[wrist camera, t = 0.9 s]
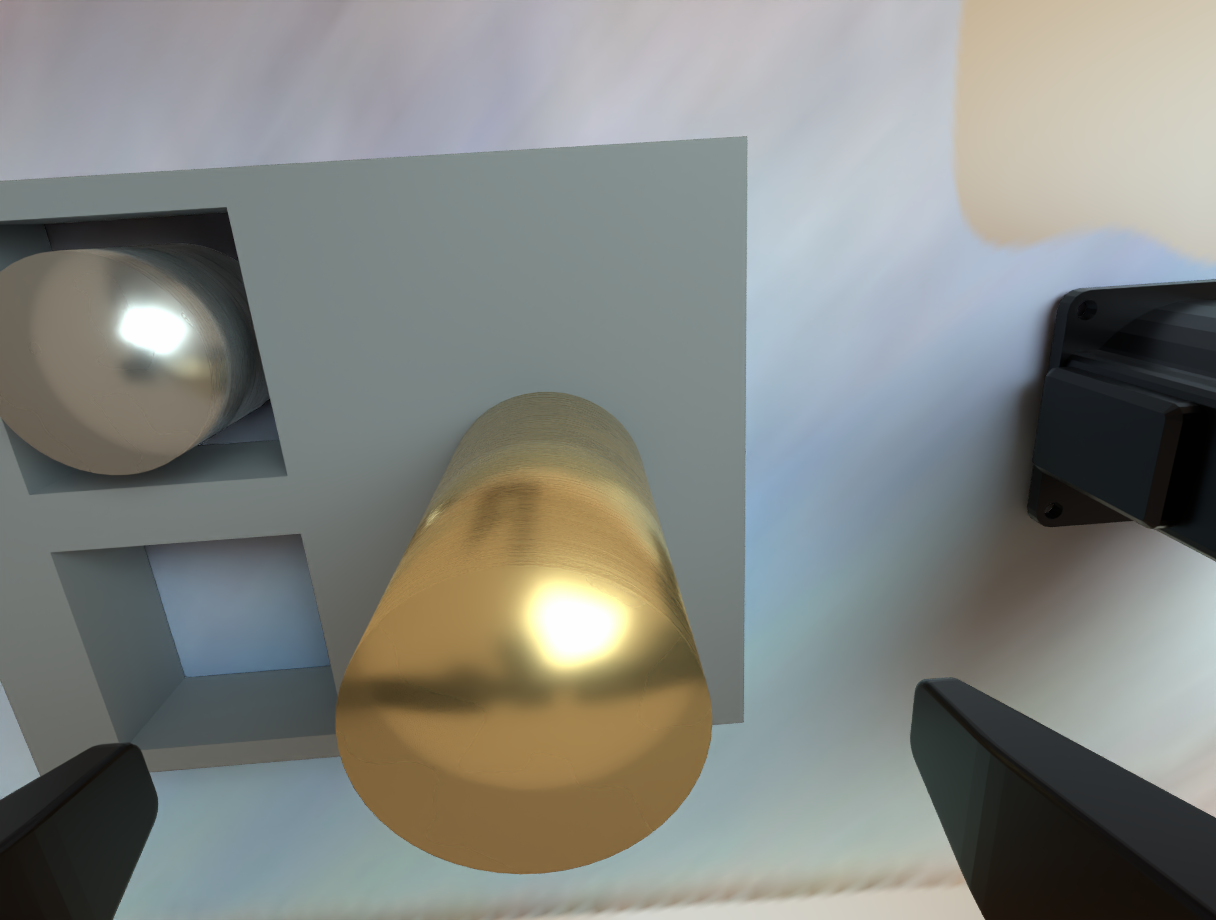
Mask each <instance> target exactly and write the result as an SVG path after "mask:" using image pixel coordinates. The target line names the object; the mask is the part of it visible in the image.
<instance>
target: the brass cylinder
mask: <svg viewBox="0 0 1216 920" xmlns="http://www.w3.org/2000/svg"><path fill="white" fill-rule="evenodd" d="M335 731H336V737H337V744H338V750H339V753H340V756H341V760H342V763H343V766H344V769H345V771H346V773H347V775H348V777H349V779H350V781H351V783H352V785H353V787H354V789H355V790H356V792H357V793H358V795H359V796H360V797H361V799H362V800H363V802H364V803H365V805H366V806H367V807H368V808H369V809H370V810H371V811H372V812H373V813H374V814H375V816H376V817H377V818H378V819H379V820H380V821H381V822H383V823H384V824H385V825H386V826H387V827H388V828H390V829H391V830H392V831H393V832H394V833H395V834H397V835H398V836H400V837H401V838H403V839H404V840H406V841H408V842H409V843H411V844H412V845H414V846H415V847H417V848H419V849H421V850H423V851H425V852H427V853H429V854H431V855H433V856H436V857H438V858H441V859H444V860H446V861H449V862H452V863H454V864H458V865H462V866H466V867H469V868H473V869H477V870H484V871H490V872H496V873H510V874H537V873H549V872H556V871H563V870H569V869H573V868H577V867H581V866H585V865H589V864H592V863H594V862H597V861H600V860H603V859H606V858H609V857H611V856H613V855H615V854H617V853H619V852H621V851H623V850H625V849H628V848H629V847H631V846H632V845H634V844H636V843H637V842H639V841H641V840H642V839H644V838H645V837H647V836H648V835H649V834H651V833H652V832H653V831H655V830H656V829H657V828H658V827H660V826H661V825H662V824H663V823H664V822H665V821H666V820H667V819H668V818H669V817H670V816H671V815H672V814H673V813H674V812H675V811H676V810H677V809H678V808H679V806H680V805H681V804H682V803H683V801H684V800H685V799H686V797H687V796H688V795H689V793H690V792H691V790H692V788H693V786H694V785H695V783H696V781H697V779H698V778H699V776H700V773H701V771H702V768H703V766H704V763H705V761H706V758H707V754H708V749H709V745H710V741H711V731H712V709H711V699H710V695H709V691H708V687H707V683H706V679H705V676H704V672H703V669H702V665H701V662H700V658H699V655H698V652H697V648H696V645H695V641H694V638H693V634H692V631H691V628H690V624H689V621H688V617H687V614H686V610H685V607H684V604H683V600H682V597H681V593H680V590H679V586H678V583H677V580H676V576H675V573H674V569H673V566H672V562H671V559H670V555H669V552H668V549H667V545H666V542H665V538H664V535H663V531H662V528H661V525H660V521H659V518H658V514H657V511H656V507H655V504H654V501H653V497H652V494H651V490H650V487H649V483H648V480H647V477H646V473H645V470H644V466H643V463H642V459H641V456H640V454H639V451H638V449H637V446H636V444H635V442H634V441H633V439H632V437H631V436H630V434H629V433H628V431H627V430H626V429H625V428H624V426H623V425H622V424H621V423H620V422H619V421H618V420H617V419H616V418H615V417H614V416H613V415H611V414H610V413H609V412H607V411H606V410H605V409H603V408H602V407H600V406H598V405H596V404H595V403H593V402H591V401H588V400H586V399H583V398H581V397H578V396H574V395H570V394H566V393H559V392H534V393H527V394H523V395H519V396H515V397H512V398H510V399H507V400H505V401H503V402H500V403H499V404H497V405H495V406H494V407H492V408H490V409H489V410H487V411H486V412H485V413H484V414H482V415H481V416H480V417H479V418H478V419H477V420H476V421H475V422H474V423H473V424H472V425H471V426H470V427H469V429H468V430H467V431H466V433H465V434H464V435H463V437H462V439H461V441H460V443H459V445H458V447H457V449H456V451H455V453H454V455H453V457H452V459H451V461H450V463H449V465H448V467H447V469H446V471H445V473H444V475H443V477H442V479H441V481H440V483H439V485H438V487H437V489H436V491H435V493H434V495H433V497H432V499H431V501H430V503H429V505H428V506H427V508H426V510H425V512H424V514H423V516H422V518H421V520H420V522H419V524H418V526H417V528H416V530H415V532H414V534H413V536H412V538H411V540H410V542H409V544H408V546H407V548H406V550H405V552H404V554H403V556H402V558H401V560H400V562H399V564H398V566H397V568H396V570H395V572H394V574H393V576H392V578H391V580H390V582H389V584H388V586H387V588H386V590H385V592H384V594H383V596H382V598H381V600H380V602H379V604H378V606H377V608H376V610H375V612H374V614H373V616H372V618H371V620H370V622H369V624H368V626H367V628H366V630H365V632H364V634H363V636H362V638H361V640H360V642H359V644H358V646H357V648H356V650H355V652H354V654H353V656H352V658H351V660H350V662H349V664H348V666H347V668H346V671H345V674H344V677H343V680H342V682H341V685H340V688H339V693H338V699H337V704H336V718H335Z"/></svg>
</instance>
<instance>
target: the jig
mask: <svg viewBox="0 0 1216 920" xmlns="http://www.w3.org/2000/svg"><path fill="white" fill-rule="evenodd" d="M216 213H228V215H229V219H230V224H231V228H232V233H233V237H234V241H235V246H236V250H237V255H238V259H239V263H240V268H241V272H242V277H243V281H244V285H245V290H246V294H247V299H248V303H249V308H250V312H251V316H252V321H253V325H254V330H255V334H256V338H257V343H258V347H259V352H260V356H261V360H262V365H263V369H264V374H265V378H266V382H267V387H268V391H269V396H270V400H271V404H272V409H273V413H274V418H275V422H276V426H277V431H278V435H279V440H271V441H257V442H243V443H229V444H215V445H201V446H195V447H193V448H191V449H190V450H188V451H187V452H185V453H183V454H182V455H180V456H178V457H177V458H175V459H173V460H172V461H170V462H168V463H167V464H165V465H163V466H160V467H158V468H155V469H153V470H149V471H146V472H142V473H136V474H129V475H106V474H97V473H92V472H87V471H83V470H79V469H76V468H73V467H70V466H67V465H65V464H63V463H61V462H58V461H56V460H54V459H52V458H50V457H48V456H47V455H45V454H43V453H41V452H40V451H38V450H37V449H35V448H34V447H32V446H31V445H30V444H28V443H27V442H25V441H24V440H23V439H22V438H21V437H20V436H18V435H17V434H16V433H15V432H14V431H13V430H12V429H11V428H10V427H9V426H8V425H7V424H6V423H5V422H4V420H3V419H2V418H1V417H0V681H1V683H2V685H3V688H4V690H5V693H6V695H7V697H8V700H9V702H10V705H11V707H12V709H13V712H14V714H15V717H16V719H17V721H18V724H19V726H20V729H21V731H22V733H23V736H24V738H25V741H26V743H27V745H28V748H29V750H30V753H31V755H32V757H33V760H34V762H35V765H36V767H37V769H38V772H39V774H40V776H42V775H44V774H45V773H47V772H49V771H51V770H52V769H54V768H56V767H57V766H59V765H61V764H63V763H64V762H66V761H68V760H69V759H71V758H73V757H75V756H76V755H78V754H80V753H81V752H83V751H85V750H87V749H88V748H90V747H92V746H96V745H100V744H109V743H122V742H130V743H134V744H136V745H137V746H138V747H139V748H140V749H141V751H142V753H143V756H144V759H145V762H146V765H147V767H148V770H149V772H159V771H171V770H183V769H195V768H207V767H219V766H230V765H242V764H254V763H266V762H278V761H290V760H302V759H314V758H326V757H338V756H340V753H339V750H338V744H337V737H336V731H335V718H336V704H337V699H338V693H339V688H340V685H341V682H342V680H343V677H344V674H345V671H346V668H347V666H348V664H349V662H350V660H351V658H352V656H353V654H354V652H355V650H356V648H357V646H358V644H359V642H360V640H361V638H362V636H363V634H364V632H365V630H366V628H367V626H368V624H369V622H370V620H371V618H372V616H373V614H374V612H375V610H376V608H377V606H378V604H379V602H380V600H381V598H382V596H383V594H384V592H385V590H386V588H387V586H388V584H389V582H390V580H391V578H392V576H393V574H394V572H395V570H396V568H397V566H398V564H399V562H400V560H401V558H402V556H403V554H404V552H405V550H406V548H407V546H408V544H409V542H410V540H411V538H412V536H413V534H414V532H415V530H416V528H417V526H418V524H419V522H420V520H421V518H422V516H423V514H424V512H425V510H426V508H427V506H428V505H429V503H430V501H431V499H432V497H433V495H434V493H435V491H436V489H437V487H438V485H439V483H440V481H441V479H442V477H443V475H444V473H445V471H446V469H447V467H448V465H449V463H450V461H451V459H452V457H453V455H454V453H455V451H456V449H457V447H458V445H459V443H460V441H461V439H462V437H463V435H464V434H465V433H466V431H467V430H468V429H469V427H470V426H471V425H472V424H473V423H474V422H475V421H476V420H477V419H478V418H479V417H480V416H481V415H482V414H484V413H485V412H486V411H487V410H489V409H490V408H492V407H494V406H495V405H497V404H499V403H500V402H503V401H505V400H507V399H510V398H512V397H515V396H519V395H523V394H527V393H534V392H559V393H566V394H570V395H574V396H578V397H581V398H583V399H586V400H588V401H591V402H593V403H595V404H596V405H598V406H600V407H602V408H603V409H605V410H606V411H607V412H609V413H610V414H611V415H613V416H614V417H615V418H616V419H617V420H618V421H619V422H620V423H621V424H622V425H623V426H624V428H625V429H626V430H627V431H628V433H629V434H630V436H631V437H632V439H633V441H634V442H635V444H636V446H637V449H638V451H639V454H640V456H641V459H642V463H643V466H644V470H645V473H646V477H647V480H648V483H649V487H650V490H651V494H652V497H653V501H654V504H655V507H656V511H657V514H658V518H659V521H660V525H661V528H662V531H663V535H664V538H665V542H666V545H667V549H668V552H669V555H670V559H671V562H672V566H673V569H674V573H675V576H676V580H677V583H678V586H679V590H680V593H681V597H682V600H683V604H684V607H685V610H686V614H687V617H688V621H689V624H690V628H691V631H692V634H693V638H694V641H695V645H696V648H697V652H698V655H699V658H700V662H701V665H702V669H703V672H704V676H705V679H706V683H707V687H708V691H709V695H710V699H711V709H712V725H718V724H730V723H742V722H744V572H745V418H746V263H747V136H743V137H727V138H710V139H693V140H677V141H660V142H643V143H627V144H610V145H593V146H577V147H560V148H543V149H527V150H510V151H493V152H477V153H460V154H443V155H427V156H410V157H393V158H377V159H360V160H343V161H327V162H310V163H293V164H277V165H260V166H243V167H227V168H210V169H194V170H177V171H160V172H144V173H127V174H110V175H94V176H77V177H60V178H44V179H27V180H10V181H0V272H1V271H2V270H3V269H5V268H6V267H8V266H9V265H11V264H12V263H14V262H16V261H19V260H21V259H23V258H25V257H28V256H32V255H35V254H39V253H44V252H51V251H52V249H51V246H50V243H49V240H48V237H47V233H46V230H45V227H44V224H55V223H71V222H87V221H103V220H119V219H136V218H152V217H168V216H184V215H200V214H216ZM290 534H301V537H302V541H303V545H304V550H305V554H306V559H307V563H308V567H309V572H310V576H311V581H312V585H313V589H314V594H315V598H316V603H317V607H318V612H319V616H320V620H321V625H322V629H323V634H324V638H325V642H326V647H327V651H328V656H329V660H330V664H331V666H324V667H311V668H299V669H286V670H274V671H261V672H249V673H237V674H224V675H212V676H199V677H187V678H185V676H184V673H183V670H182V667H181V663H180V660H179V657H178V654H177V651H176V647H175V644H174V641H173V638H172V635H171V631H170V628H169V625H168V622H167V619H166V615H165V612H164V609H163V606H162V602H161V599H160V596H159V593H158V590H157V586H156V583H155V580H154V577H153V574H152V570H151V567H150V564H149V561H148V558H147V554H146V551H145V548H144V545H157V544H170V543H183V542H197V541H210V540H223V539H237V538H250V537H263V536H277V535H290Z"/></svg>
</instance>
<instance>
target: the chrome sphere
mask: <svg viewBox="0 0 1216 920" xmlns="http://www.w3.org/2000/svg"><path fill="white" fill-rule="evenodd" d="M269 398H270V396H269V391H268V387H267V382H266V378H265V374H264V369H263V365H262V360H261V356H260V352H259V347H258V343H257V338H256V334H255V330H254V325H253V321H252V316H251V312H250V308H249V303H248V299H247V294H246V290H245V285H244V281H243V277H242V272H241V268H240V263H239V262H238V261H237V260H235V259H233V258H231V257H230V256H228V255H226V254H224V253H222V252H219V251H216V250H214V249H211V248H208V247H204V246H200V245H194V244H187V243H172V244H156V245H140V246H124V247H109V248H93V249H77V250H61V251H51V252H44V253H39V254H35V255H32V256H28V257H25V258H23V259H21V260H19V261H16V262H14V263H12V264H11V265H9V266H8V267H6V268H5V269H3V270H2V271H1V272H0V417H1V418H2V419H3V420H4V422H5V423H6V424H7V425H8V426H9V427H10V428H11V429H12V430H13V431H14V432H15V433H16V434H17V435H18V436H20V437H21V438H22V439H23V440H24V441H25V442H27V443H28V444H30V445H31V446H32V447H34V448H35V449H37V450H38V451H40V452H41V453H43V454H45V455H47V456H48V457H50V458H52V459H54V460H56V461H58V462H61V463H63V464H65V465H67V466H70V467H73V468H76V469H79V470H83V471H87V472H92V473H97V474H106V475H129V474H136V473H142V472H146V471H149V470H153V469H155V468H158V467H160V466H163V465H165V464H167V463H168V462H170V461H172V460H173V459H175V458H177V457H178V456H180V455H182V454H183V453H185V452H187V451H188V450H190V449H191V448H193V447H195V446H196V445H198V444H200V443H201V442H203V441H205V440H206V439H208V438H210V437H211V436H213V435H215V434H216V433H218V432H219V431H221V430H223V429H224V428H226V427H228V426H229V425H231V424H233V423H234V422H236V421H238V420H239V419H241V418H243V417H244V416H246V415H247V414H249V413H251V412H252V411H254V410H256V409H257V408H259V407H260V406H262V405H263V404H264V403H265V402H266V401H268V399H269Z"/></svg>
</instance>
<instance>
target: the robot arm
mask: <svg viewBox="0 0 1216 920" xmlns="http://www.w3.org/2000/svg"><path fill="white" fill-rule="evenodd" d="M1084 301H1085V302H1086V310H1085V312H1084V313H1083V314H1082V315H1081V316H1080V317H1078V313H1077V310H1078V308H1079V306H1080V305H1081V304H1082V303H1083V302H1084ZM1033 463H1034V466H1033V472H1032V479H1031V486H1030V492H1029V499H1028V505H1027V510H1028V514H1029V516H1030V517H1031V518H1032V519H1034V520H1035V521H1037V522H1038V523H1040V524H1042V525H1043V526H1046V527H1058V526H1071V525H1084V524H1097V523H1110V522H1123V521H1135V522H1137V523H1139V524H1141V525H1143V526H1145V527H1146V528H1151V529H1156V530H1157V531H1159V532H1161V533H1163V534H1165V535H1167V536H1169V537H1171V538H1172V539H1174V540H1176V541H1178V542H1180V543H1182V544H1184V545H1186V546H1188V547H1189V548H1191V549H1193V550H1195V551H1197V552H1199V553H1201V554H1203V555H1205V556H1206V557H1208V558H1210V559H1212V560H1214V561H1216V279H1212V280H1197V281H1183V282H1168V283H1153V284H1138V285H1123V286H1108V287H1093V288H1079V289H1076V290H1072V291H1071V292H1069V293H1068V294H1066V295H1065V296H1064V297H1063V299H1062V300H1061V301H1060V303H1059V306H1058V309H1057V315H1056V322H1055V329H1054V335H1053V342H1052V348H1051V355H1050V361H1049V368H1048V374H1047V376H1046V377H1045V382H1044V388H1043V395H1042V401H1041V408H1040V415H1039V421H1038V428H1037V434H1036V441H1035V448H1034V454H1033ZM1051 503H1053V504H1054V505H1053V507H1052V509H1051V510H1050V511H1048V512H1046V513H1045V510H1046V507H1047V506H1048V505H1049V504H1051ZM910 742H911V749H912V753H913V757H914V759H915V762H916V764H917V767H918V769H919V772H920V774H921V776H922V779H923V781H924V783H925V786H926V788H927V791H928V793H929V795H930V798H931V800H932V803H933V805H934V807H935V810H936V812H937V814H938V817H939V819H940V822H941V824H942V826H943V829H944V831H945V834H946V836H947V838H948V841H949V843H950V845H951V848H952V850H953V853H954V855H955V857H956V860H957V862H958V865H959V867H960V869H961V871H962V874H963V876H964V878H965V880H966V883H967V885H968V887H969V889H970V891H971V893H972V895H973V897H974V899H975V901H976V903H977V905H978V907H979V909H980V911H981V913H982V915H983V917H984V918H985V920H1216V818H1215V817H1213V816H1211V815H1209V814H1208V813H1206V812H1204V811H1202V810H1200V809H1198V808H1196V807H1195V806H1193V805H1191V804H1189V803H1187V802H1185V801H1183V800H1182V799H1180V798H1178V797H1176V796H1174V795H1172V794H1170V793H1169V792H1167V791H1165V790H1163V789H1161V788H1159V787H1157V786H1156V785H1154V784H1152V783H1150V782H1148V781H1146V780H1144V779H1143V778H1141V777H1139V776H1137V775H1135V774H1133V773H1131V772H1130V771H1128V770H1126V769H1124V768H1122V767H1120V766H1118V765H1117V764H1115V763H1113V762H1111V761H1109V760H1107V759H1105V758H1104V757H1102V756H1100V755H1098V754H1096V753H1094V752H1092V751H1091V750H1089V749H1087V748H1085V747H1083V746H1081V745H1079V744H1078V743H1076V742H1074V741H1072V740H1070V739H1068V738H1066V737H1065V736H1063V735H1061V734H1059V733H1057V732H1055V731H1053V730H1052V729H1050V728H1048V727H1046V726H1044V725H1042V724H1040V723H1039V722H1037V721H1035V720H1033V719H1031V718H1029V717H1027V716H1026V715H1024V714H1022V713H1020V712H1018V711H1016V710H1014V709H1013V708H1011V707H1009V706H1007V705H1005V704H1003V703H1001V702H1000V701H998V700H996V699H994V698H992V697H990V696H988V695H987V694H985V693H983V692H981V691H979V690H977V689H975V688H974V687H972V686H970V685H968V684H966V683H964V682H962V681H960V680H958V679H956V678H937V679H925V680H922V681H920V682H919V683H918V684H917V686H916V689H915V695H914V704H913V714H912V724H911V733H910ZM157 812H158V797H157V793H156V790H155V787H154V785H153V782H152V779H151V776H150V773H149V770H148V767H147V765H146V762H145V759H144V756H143V753H142V751H141V749H140V748H139V747H138V746H137V745H136V744H134V743H130V742H122V743H109V744H100V745H96V746H92V747H90V748H88V749H87V750H85V751H83V752H81V753H80V754H78V755H76V756H75V757H73V758H71V759H69V760H68V761H66V762H64V763H63V764H61V765H59V766H57V767H56V768H54V769H52V770H51V771H49V772H47V773H45V774H44V775H42V776H40V777H39V778H37V779H35V780H33V781H32V782H30V783H28V784H27V785H25V786H23V787H21V788H20V789H18V790H16V791H15V792H13V793H11V794H9V795H8V796H6V797H4V798H3V799H1V800H0V920H113V918H114V916H115V913H116V911H117V909H118V906H119V904H120V902H121V899H122V897H123V895H124V892H125V890H126V888H127V885H128V883H129V881H130V878H131V876H132V874H133V871H134V869H135V867H136V864H137V862H138V860H139V858H140V855H141V853H142V851H143V848H144V846H145V844H146V841H147V839H148V837H149V834H150V832H151V830H152V827H153V825H154V823H155V820H156V816H157Z"/></svg>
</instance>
